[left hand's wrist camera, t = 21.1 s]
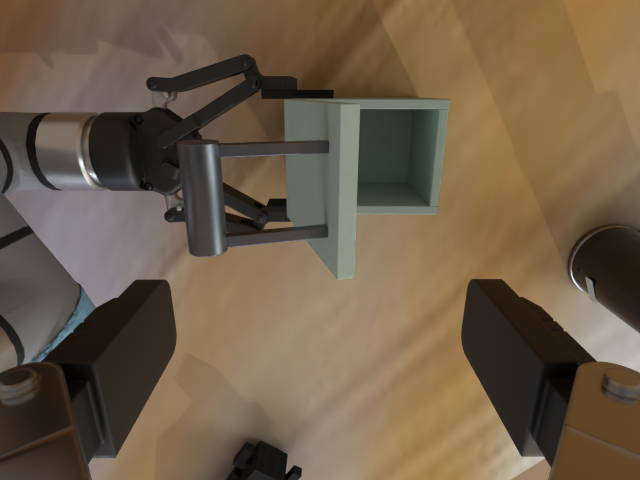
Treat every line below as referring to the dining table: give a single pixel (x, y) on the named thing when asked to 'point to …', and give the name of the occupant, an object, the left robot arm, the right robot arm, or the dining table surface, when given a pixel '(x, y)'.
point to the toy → (262, 464)
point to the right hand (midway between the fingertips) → (332, 152)
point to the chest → (399, 153)
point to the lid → (301, 184)
